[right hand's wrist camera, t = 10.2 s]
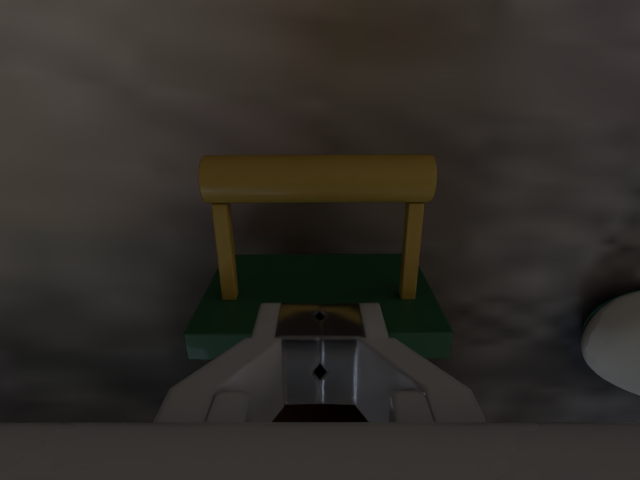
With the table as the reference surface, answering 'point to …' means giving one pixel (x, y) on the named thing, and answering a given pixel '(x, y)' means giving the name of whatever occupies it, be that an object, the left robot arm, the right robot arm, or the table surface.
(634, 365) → the ballet flat
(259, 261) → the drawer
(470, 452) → the right robot arm
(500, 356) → the table surface
